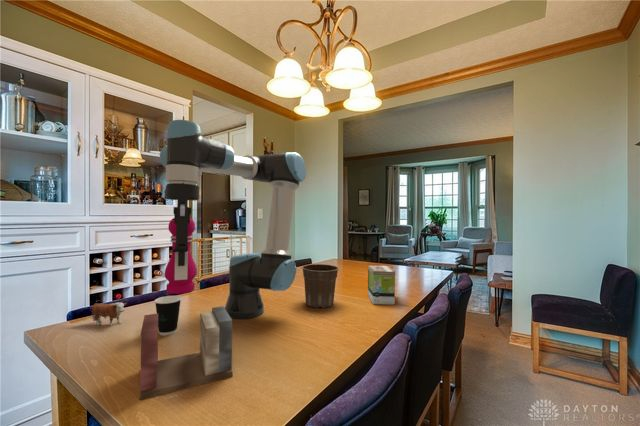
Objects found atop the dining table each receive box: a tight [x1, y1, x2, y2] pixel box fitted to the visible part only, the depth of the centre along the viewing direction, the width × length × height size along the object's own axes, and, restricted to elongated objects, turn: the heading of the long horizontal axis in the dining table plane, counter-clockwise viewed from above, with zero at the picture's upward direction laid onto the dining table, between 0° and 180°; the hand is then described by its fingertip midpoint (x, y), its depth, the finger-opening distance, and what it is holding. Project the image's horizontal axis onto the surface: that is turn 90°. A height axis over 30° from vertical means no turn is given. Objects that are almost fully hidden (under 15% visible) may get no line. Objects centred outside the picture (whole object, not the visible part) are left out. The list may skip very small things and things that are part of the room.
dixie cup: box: [154, 295, 182, 336], centre depth 95 cm, size 8×8×11 cm
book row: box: [139, 305, 234, 401], centre depth 71 cm, size 19×14×14 cm
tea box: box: [367, 265, 396, 305], centre depth 133 cm, size 15×10×15 cm, turn 179°
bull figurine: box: [91, 301, 128, 327], centre depth 101 cm, size 4×13×8 cm, turn 78°
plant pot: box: [301, 263, 340, 309], centre depth 126 cm, size 16×16×16 cm
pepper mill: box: [164, 217, 198, 295], centre depth 72 cm, size 7×7×20 cm
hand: (181, 276), depth 72 cm, fingers closed on pepper mill, 7 cm apart
